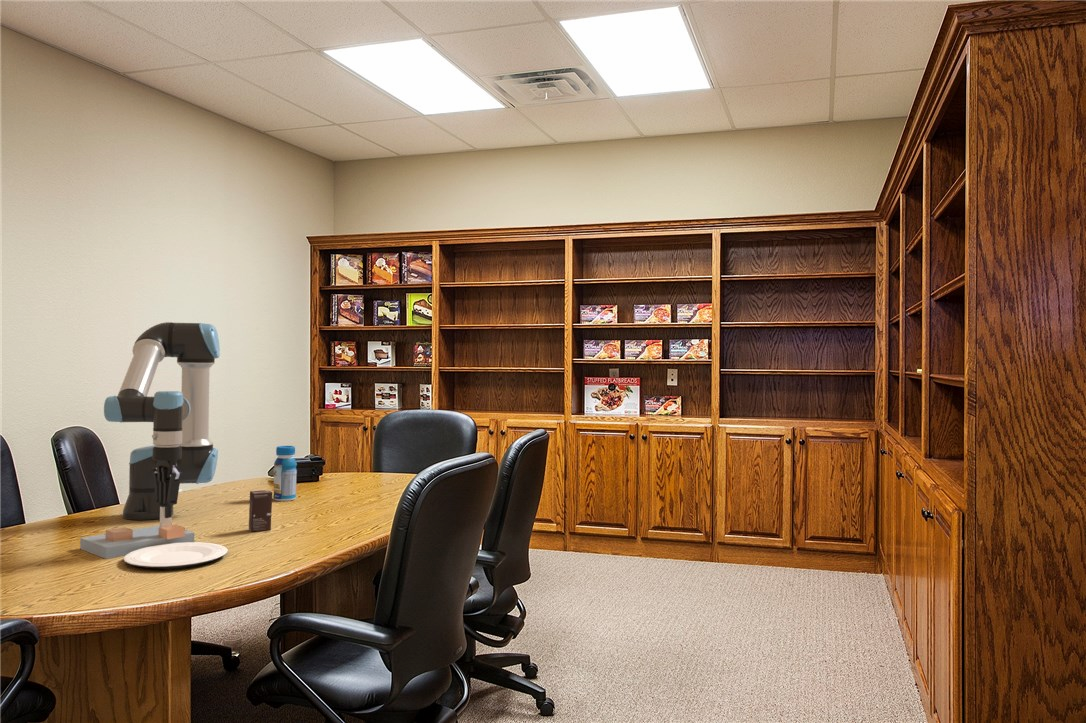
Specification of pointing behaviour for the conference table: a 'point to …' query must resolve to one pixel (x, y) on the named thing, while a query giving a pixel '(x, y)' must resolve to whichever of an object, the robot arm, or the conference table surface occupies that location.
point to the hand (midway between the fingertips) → (165, 528)
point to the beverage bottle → (285, 474)
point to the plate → (175, 555)
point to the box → (260, 510)
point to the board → (129, 542)
